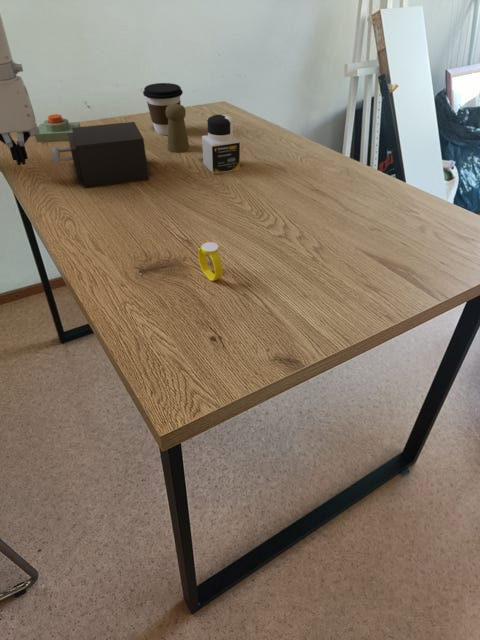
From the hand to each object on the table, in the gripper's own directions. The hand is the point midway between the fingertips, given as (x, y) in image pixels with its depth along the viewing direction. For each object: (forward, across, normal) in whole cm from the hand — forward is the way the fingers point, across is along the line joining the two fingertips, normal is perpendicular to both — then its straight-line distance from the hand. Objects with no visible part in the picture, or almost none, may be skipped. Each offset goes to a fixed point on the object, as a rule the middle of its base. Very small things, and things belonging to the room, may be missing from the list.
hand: (21, 162), depth 102 cm
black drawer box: (+5, -20, +1) cm, 20 cm away
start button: (+2, -9, -32) cm, 33 cm away
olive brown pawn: (+5, -39, -11) cm, 40 cm away
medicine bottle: (+4, -46, +5) cm, 46 cm away
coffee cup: (+5, -38, -25) cm, 46 cm away
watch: (+4, -29, +50) cm, 58 cm away
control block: (+5, -9, -32) cm, 33 cm away
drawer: (+4, -16, +1) cm, 16 cm away
